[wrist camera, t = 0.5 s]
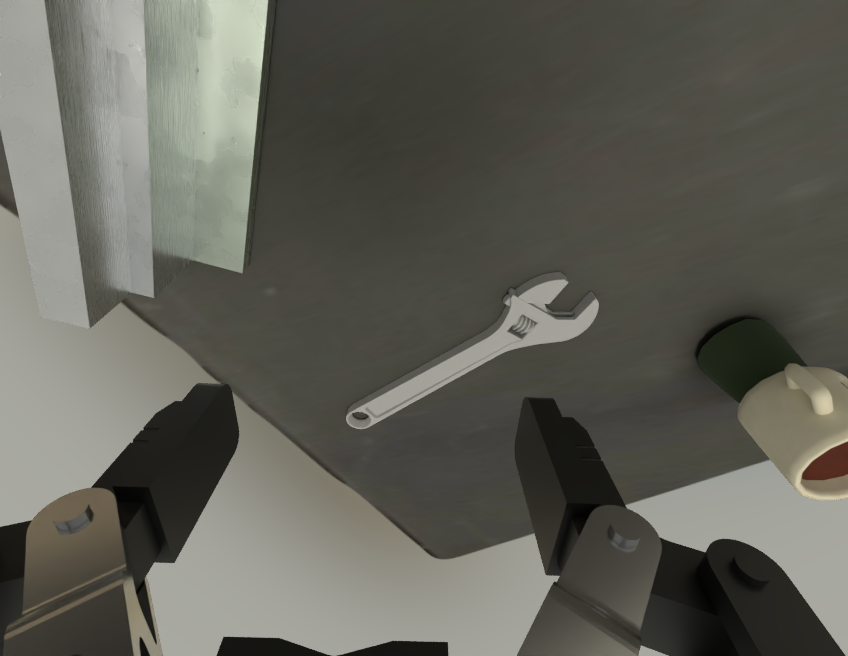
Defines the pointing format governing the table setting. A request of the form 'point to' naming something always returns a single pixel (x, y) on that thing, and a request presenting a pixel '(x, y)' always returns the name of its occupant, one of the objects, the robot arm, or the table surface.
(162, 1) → the stand
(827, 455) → the trophy cup
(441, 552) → the table surface
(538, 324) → the adjustable wrench
